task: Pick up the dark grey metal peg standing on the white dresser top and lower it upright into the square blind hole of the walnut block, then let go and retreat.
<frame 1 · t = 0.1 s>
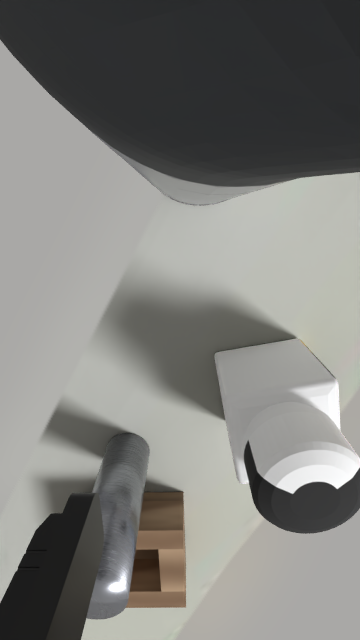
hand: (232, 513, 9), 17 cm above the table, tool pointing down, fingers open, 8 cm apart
bore block: (136, 530, 33), on the table
peg: (128, 450, 30), on the table
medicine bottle: (260, 380, 28), on the table
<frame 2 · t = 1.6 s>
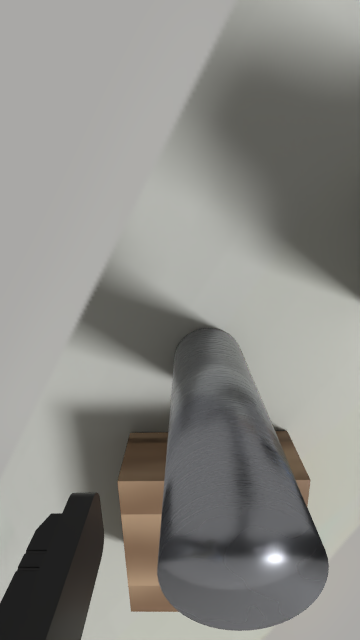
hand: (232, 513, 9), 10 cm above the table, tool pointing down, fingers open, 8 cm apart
bore block: (208, 493, 22), on the table
peg: (208, 360, 19), on the table
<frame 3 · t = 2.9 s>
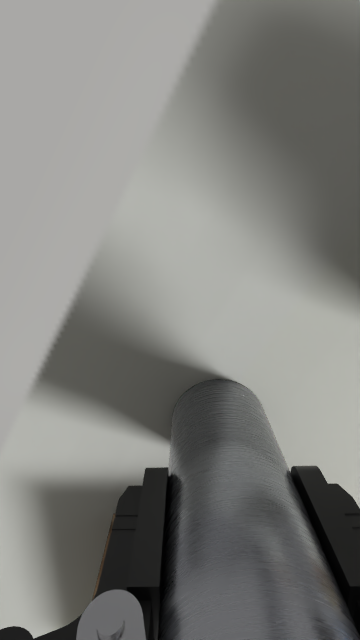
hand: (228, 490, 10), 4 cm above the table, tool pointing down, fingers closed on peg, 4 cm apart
peg: (218, 421, 14), on the table, touching gripper
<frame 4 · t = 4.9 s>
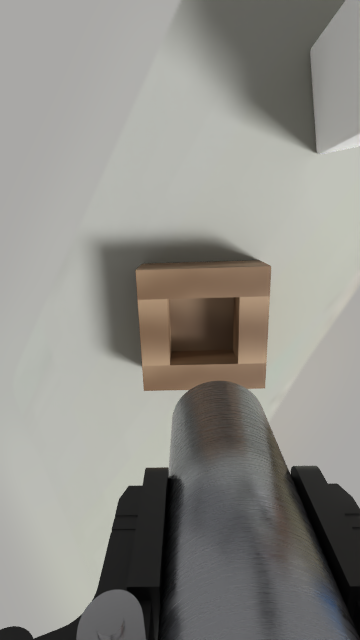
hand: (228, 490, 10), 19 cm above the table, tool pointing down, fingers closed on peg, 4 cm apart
bore block: (201, 317, 29), on the table
peg: (218, 422, 14), point 16 cm above the table, touching gripper
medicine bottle: (359, 94, 24), on the table
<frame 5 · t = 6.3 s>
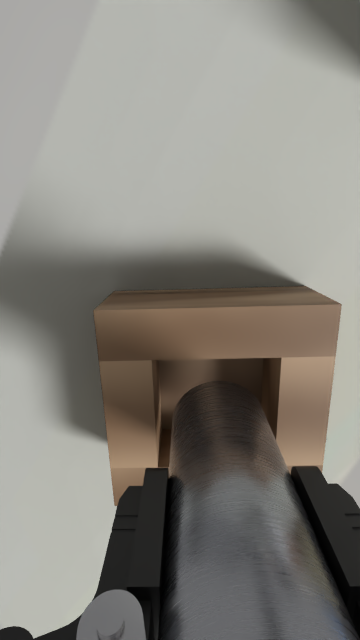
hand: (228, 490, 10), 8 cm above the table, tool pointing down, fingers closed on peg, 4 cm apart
bore block: (209, 375, 18), on the table
peg: (218, 422, 14), point 4 cm above the table, touching gripper
when the fingers open (5 cm above the table, at t = 7.2 s): peg stays where it is, resting on bore block.
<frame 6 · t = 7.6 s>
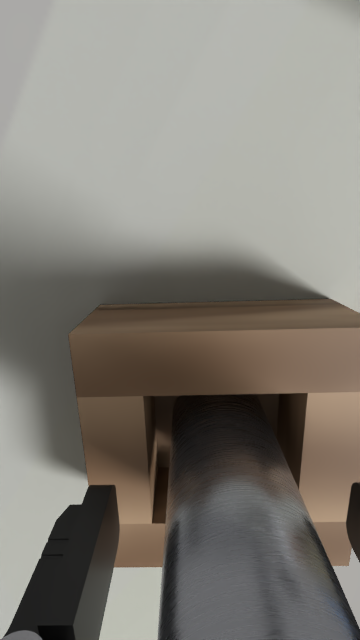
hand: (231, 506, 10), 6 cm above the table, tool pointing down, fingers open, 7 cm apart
bore block: (214, 403, 15), on the table
peg: (217, 416, 14), point 1 cm above the table, touching bore block
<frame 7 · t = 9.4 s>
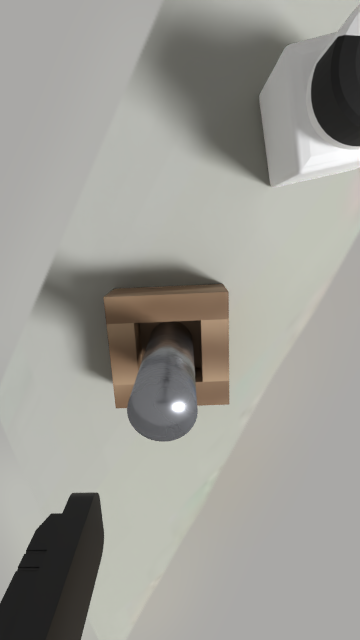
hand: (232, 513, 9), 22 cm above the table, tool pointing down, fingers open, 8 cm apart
bore block: (171, 337, 31), on the table
peg: (171, 341, 30), point 1 cm above the table, touching bore block
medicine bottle: (306, 133, 26), on the table
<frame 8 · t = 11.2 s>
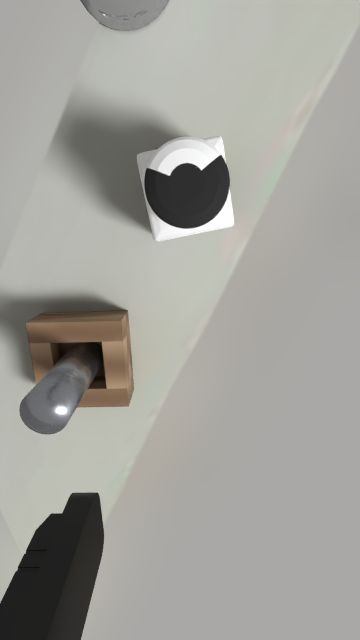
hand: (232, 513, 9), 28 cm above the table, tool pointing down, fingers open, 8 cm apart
bore block: (89, 352, 38), on the table
peg: (87, 355, 37), point 1 cm above the table, touching bore block
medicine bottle: (186, 197, 34), on the table
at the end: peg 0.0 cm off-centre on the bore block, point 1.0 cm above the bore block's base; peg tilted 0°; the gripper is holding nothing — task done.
